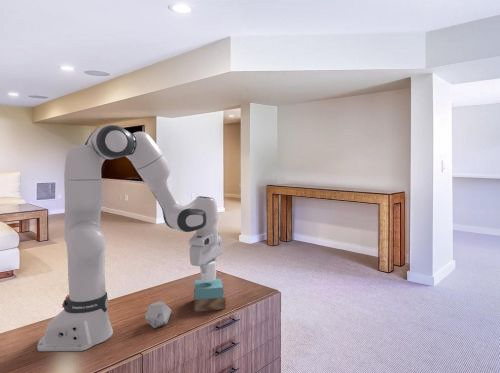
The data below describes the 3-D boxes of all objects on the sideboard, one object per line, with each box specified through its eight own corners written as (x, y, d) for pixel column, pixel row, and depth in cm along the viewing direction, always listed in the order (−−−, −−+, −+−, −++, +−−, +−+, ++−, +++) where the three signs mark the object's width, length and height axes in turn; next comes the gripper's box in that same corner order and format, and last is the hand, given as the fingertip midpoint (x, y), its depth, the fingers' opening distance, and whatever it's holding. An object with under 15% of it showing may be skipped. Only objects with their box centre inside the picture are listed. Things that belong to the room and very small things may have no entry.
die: (140, 329, 127) (146, 313, 122) (146, 309, 134) (153, 293, 129) (163, 335, 128) (170, 319, 123) (168, 314, 136) (175, 299, 130)
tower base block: (194, 312, 139) (194, 300, 139) (194, 300, 151) (193, 289, 151) (225, 309, 141) (225, 297, 141) (222, 298, 153) (222, 286, 153)
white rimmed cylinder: (205, 283, 140) (205, 265, 140) (196, 278, 146) (196, 261, 145) (220, 279, 144) (220, 262, 144) (211, 275, 150) (210, 258, 149)
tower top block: (194, 299, 139) (194, 289, 139) (194, 289, 150) (194, 280, 150) (223, 297, 141) (222, 287, 140) (221, 287, 152) (221, 278, 151)
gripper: (213, 231, 154) (214, 262, 156) (186, 241, 136) (187, 277, 137) (226, 232, 152) (227, 264, 153) (200, 242, 133) (201, 279, 134)
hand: (208, 270), depth 145 cm, fingers closed on white rimmed cylinder, 5 cm apart
